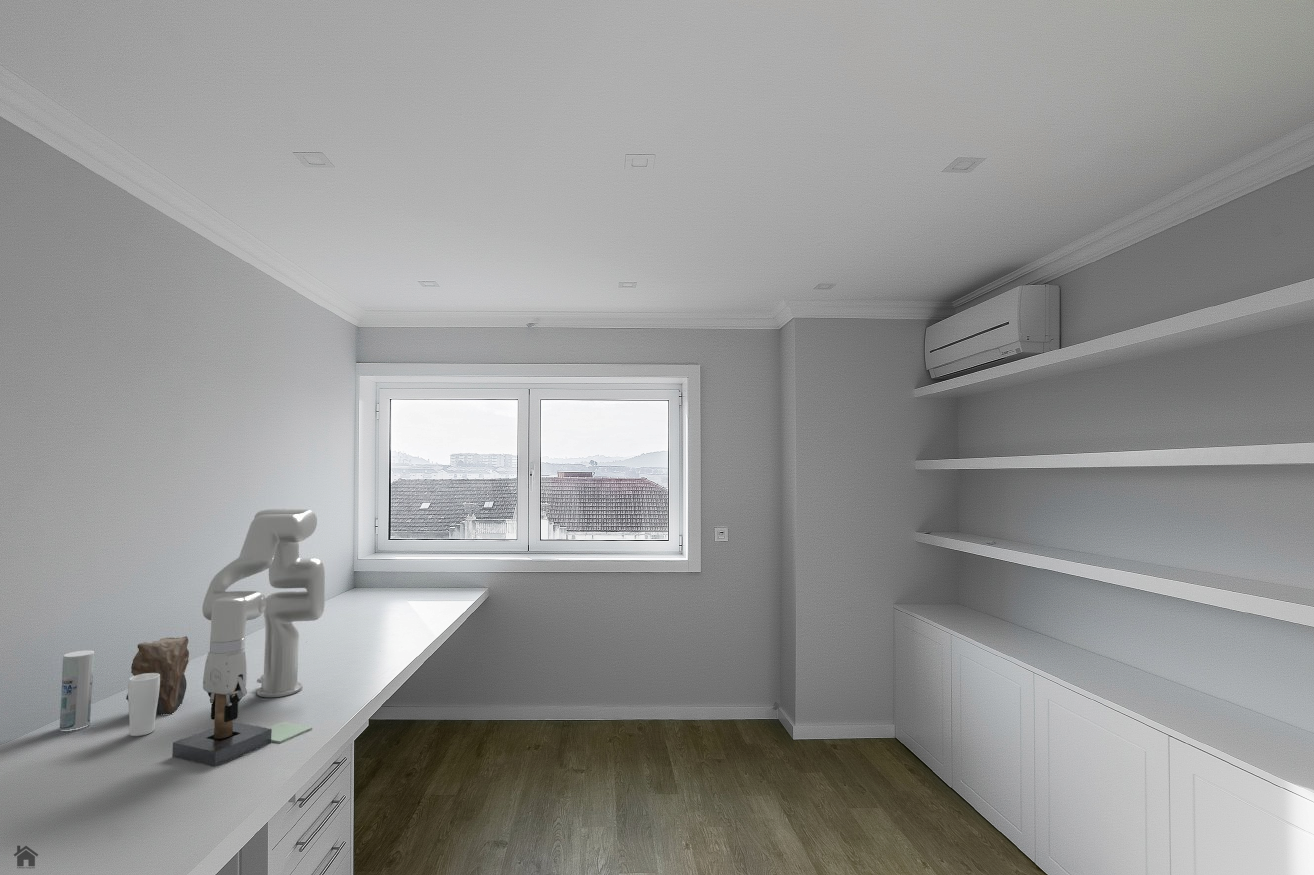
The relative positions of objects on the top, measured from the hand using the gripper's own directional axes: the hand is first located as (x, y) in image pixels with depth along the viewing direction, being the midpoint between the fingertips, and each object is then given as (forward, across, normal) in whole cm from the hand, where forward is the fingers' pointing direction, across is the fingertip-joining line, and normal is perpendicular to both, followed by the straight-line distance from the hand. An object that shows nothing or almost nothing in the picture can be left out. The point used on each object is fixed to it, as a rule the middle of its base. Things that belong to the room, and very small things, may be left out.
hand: (224, 718), depth 166 cm
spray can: (+8, -51, -4) cm, 52 cm away
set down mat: (+8, +4, +13) cm, 16 cm away
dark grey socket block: (+8, 0, 0) cm, 8 cm away
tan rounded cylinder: (+4, 0, 0) cm, 4 cm away
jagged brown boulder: (+8, -43, +13) cm, 46 cm away
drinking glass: (+8, -30, 0) cm, 31 cm away
